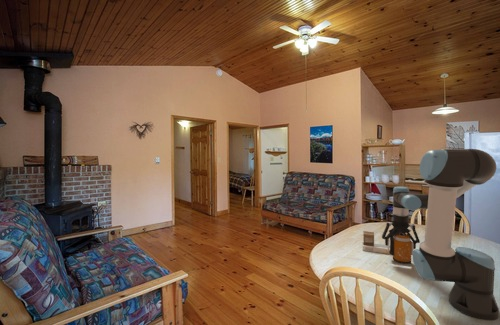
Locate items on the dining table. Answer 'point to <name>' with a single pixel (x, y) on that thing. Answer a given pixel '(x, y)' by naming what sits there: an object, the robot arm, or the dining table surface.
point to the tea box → (368, 238)
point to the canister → (400, 246)
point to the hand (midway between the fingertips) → (399, 252)
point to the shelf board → (377, 248)
